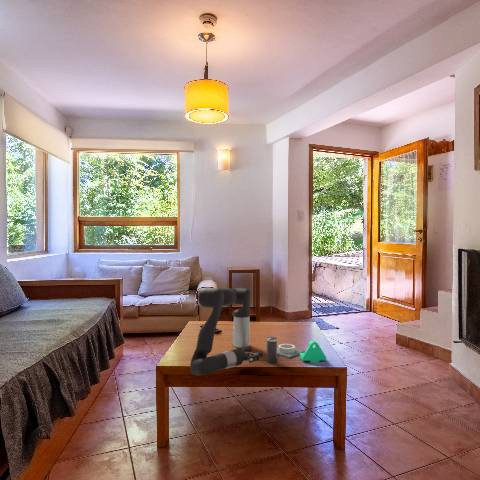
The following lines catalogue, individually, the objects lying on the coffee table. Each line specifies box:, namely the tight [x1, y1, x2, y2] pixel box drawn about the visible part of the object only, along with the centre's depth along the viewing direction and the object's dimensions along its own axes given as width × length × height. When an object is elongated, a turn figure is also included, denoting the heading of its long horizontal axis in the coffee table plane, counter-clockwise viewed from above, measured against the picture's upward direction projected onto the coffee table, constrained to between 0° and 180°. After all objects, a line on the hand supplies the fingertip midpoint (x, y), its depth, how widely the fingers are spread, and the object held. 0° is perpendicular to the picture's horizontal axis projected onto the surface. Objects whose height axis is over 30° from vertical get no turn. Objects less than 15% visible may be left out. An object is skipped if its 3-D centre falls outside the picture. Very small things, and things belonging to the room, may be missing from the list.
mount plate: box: [277, 343, 306, 359], centre depth 206 cm, size 14×14×4 cm
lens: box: [266, 336, 278, 364], centre depth 192 cm, size 5×5×12 cm
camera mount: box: [299, 340, 327, 363], centre depth 195 cm, size 12×8×10 cm, turn 95°
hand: (256, 351), depth 185 cm, fingers open, 8 cm apart
